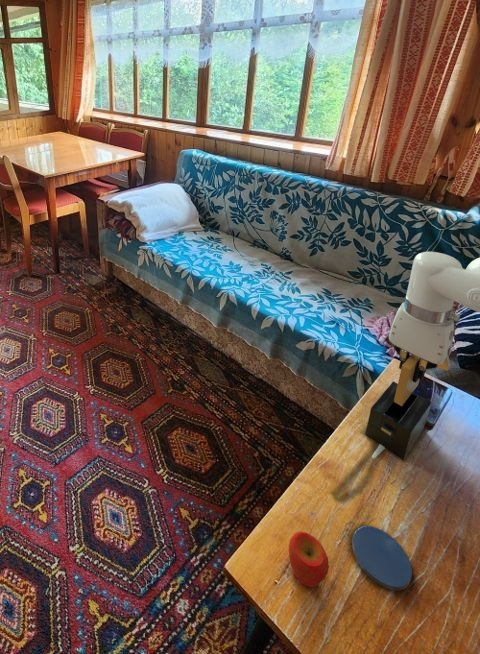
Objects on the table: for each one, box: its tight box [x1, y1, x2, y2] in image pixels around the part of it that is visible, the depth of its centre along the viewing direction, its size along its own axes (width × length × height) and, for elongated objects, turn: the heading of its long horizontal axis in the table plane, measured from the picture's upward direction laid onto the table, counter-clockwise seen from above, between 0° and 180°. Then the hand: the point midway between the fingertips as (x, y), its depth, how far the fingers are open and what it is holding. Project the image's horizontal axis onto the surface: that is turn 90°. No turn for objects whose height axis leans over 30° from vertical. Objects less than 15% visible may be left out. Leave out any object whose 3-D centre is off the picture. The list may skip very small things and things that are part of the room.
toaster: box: [364, 381, 432, 461], centre depth 88 cm, size 13×8×9 cm, turn 125°
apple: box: [288, 530, 330, 588], centre depth 66 cm, size 6×6×8 cm
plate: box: [351, 525, 413, 592], centre depth 68 cm, size 9×9×1 cm
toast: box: [394, 353, 421, 406], centre depth 84 cm, size 10×2×10 cm, turn 125°
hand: (410, 375), depth 84 cm, fingers closed on toast, 1 cm apart
